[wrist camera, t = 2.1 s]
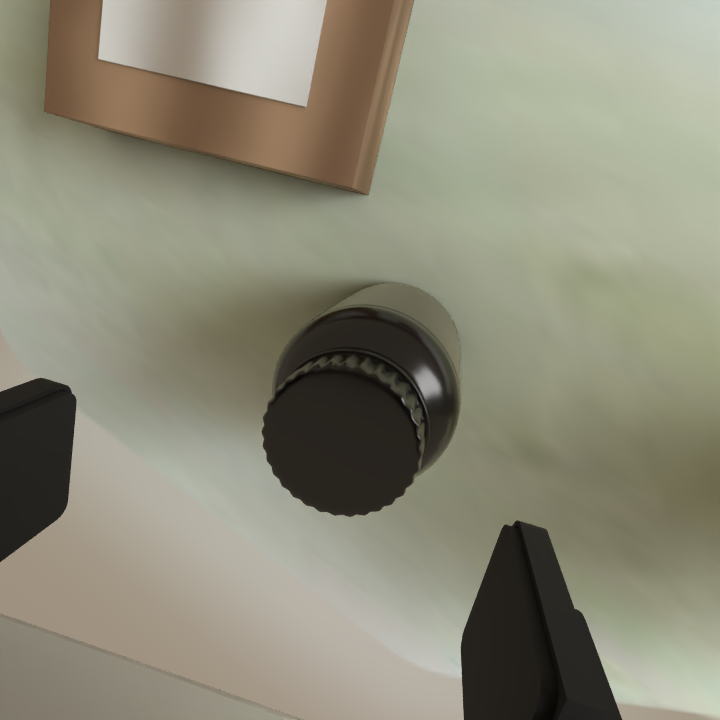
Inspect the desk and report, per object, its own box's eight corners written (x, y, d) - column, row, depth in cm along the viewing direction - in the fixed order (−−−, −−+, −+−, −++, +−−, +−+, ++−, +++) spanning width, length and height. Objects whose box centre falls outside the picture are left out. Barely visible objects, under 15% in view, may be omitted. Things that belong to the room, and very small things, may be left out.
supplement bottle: (334, 272, 25) (235, 304, 14) (471, 291, 24) (486, 343, 13) (320, 400, 27) (222, 521, 16) (447, 423, 26) (441, 571, 15)
